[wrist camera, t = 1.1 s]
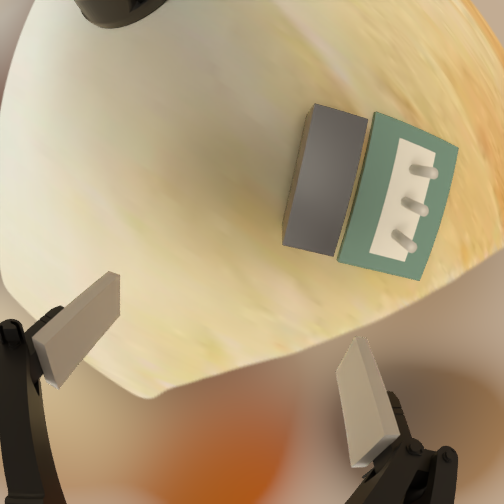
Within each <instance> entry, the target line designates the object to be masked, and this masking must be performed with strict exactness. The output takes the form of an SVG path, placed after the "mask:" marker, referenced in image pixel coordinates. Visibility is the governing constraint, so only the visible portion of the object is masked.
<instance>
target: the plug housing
mask: <svg viewBox="0 0 504 504" xmlns="http://www.w3.org/2000/svg"><path fill="white" fill-rule="evenodd" d="M367 123H368V119H366V118H363V117H360V116H357V115H353V114H350V113H347V112H344V111H340V110H337V109H333V108H330V107H326V106H322V105H319V104H314V105H313V107H312V108H311V110H310V111H309V112H308V114H307V116H306V121H305V125H304V130H303V135H302V139H301V144H300V148H299V153H298V157H297V162H296V166H295V171H294V175H293V180H292V184H291V188H290V193H289V197H288V201H287V206H286V210H285V214H284V218H283V223H282V245H285V246H289V247H293V248H298V249H302V250H307V251H311V252H315V253H320V254H324V255H328V256H334V253H335V249H336V246H337V243H338V239H339V236H340V233H341V229H342V226H343V222H344V219H345V215H346V211H347V208H348V204H349V200H350V197H351V193H352V189H353V185H354V181H355V177H356V173H357V169H358V164H359V160H360V156H361V151H362V147H363V142H364V137H365V133H366V128H367Z"/></svg>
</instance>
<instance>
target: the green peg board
mask: <svg viewBox="0 0 504 504" xmlns="http://www.w3.org/2000/svg"><path fill="white" fill-rule="evenodd" d="M458 149H459V148H458V147H456V146H454V145H452V144H450V143H448V142H446V141H444V140H442V139H440V138H438V137H436V136H434V135H432V134H429V133H427V132H425V131H423V130H421V129H418V128H416V127H414V126H411V125H409V124H407V123H404V122H402V121H399V120H397V119H394V118H392V117H389V116H386V115H384V114H381V113H378V112H374V115H373V120H372V125H371V130H370V135H369V140H368V145H367V149H366V154H365V158H364V162H363V167H362V171H361V175H360V179H359V183H358V187H357V191H356V195H355V199H354V202H353V206H352V210H351V213H350V217H349V220H348V224H347V227H346V231H345V234H344V238H343V241H342V244H341V248H340V251H339V254H338V257H337V261H338V262H340V263H345V264H349V265H354V266H358V267H362V268H366V269H371V270H375V271H379V272H384V273H388V274H392V275H396V276H401V277H405V278H409V279H413V280H417V281H420V279H421V276H422V274H423V271H424V269H425V266H426V263H427V261H428V258H429V255H430V253H431V250H432V247H433V244H434V241H435V238H436V235H437V232H438V229H439V226H440V223H441V219H442V216H443V213H444V209H445V206H446V202H447V198H448V194H449V190H450V186H451V182H452V178H453V174H454V169H455V164H456V159H457V154H458Z"/></svg>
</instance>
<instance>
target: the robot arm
mask: <svg viewBox="0 0 504 504" xmlns="http://www.w3.org/2000/svg"><path fill="white" fill-rule="evenodd" d="M74 1H75V2H76V4H77V5H78V7H79V8H80V9H81V12H82V14H83V16H84V17H85V18H86V19H87V20H88V21H90V22H91V23H93V24H95V25H97V26H99V27H102V28H117V27H122V26H125V25H128V24H131V23H133V22H136V21H138V20H140V19H142V18H143V17H145V16H147V15H148V14H150V13H151V12H153V11H154V10H156V9H157V8H158V7H159V6H161V5H162V4H163V3H164V2H165V1H166V0H74ZM119 316H120V275H119V274H116V273H113V272H110V271H108V272H107V273H106V274H105V275H103V276H102V277H101V278H100V279H98V280H97V281H96V282H95V283H93V284H92V285H91V286H90V287H89V288H87V289H86V290H85V291H84V292H83V293H81V294H80V295H79V296H78V297H77V298H75V299H74V300H73V301H72V302H71V303H70V304H68V305H67V306H66V307H65V308H64V307H62V306H58V307H55V308H53V309H51V310H50V311H49V312H47V313H46V314H45V316H43V317H42V318H40V320H38V321H37V322H36V323H35V324H34V325H33V326H31V327H30V328H29V329H28V330H27V331H26V332H25V333H24V331H23V327H22V324H21V323H20V322H19V321H17V320H15V319H8V320H5V321H3V322H1V323H0V442H1V451H2V459H3V466H4V472H5V477H6V482H7V487H8V496H7V497H6V498H5V504H67V503H66V501H65V498H64V495H63V492H62V489H61V486H60V483H59V479H58V476H57V472H56V468H55V465H54V461H53V457H52V452H51V448H50V443H49V438H48V433H47V427H46V421H45V415H44V408H43V400H42V391H41V382H40V379H39V378H40V377H41V376H42V375H43V374H44V377H45V380H46V382H47V383H49V384H50V385H52V386H53V387H55V388H57V389H60V387H61V386H62V385H63V383H64V382H65V381H66V380H67V378H68V377H69V376H70V375H71V373H72V372H73V371H74V369H75V368H76V367H77V365H79V363H80V362H81V361H82V360H83V358H84V357H85V356H86V355H87V354H88V352H89V351H90V350H91V349H92V348H93V346H94V345H95V344H96V343H97V342H98V340H99V339H100V338H101V337H102V336H103V335H104V333H105V332H106V331H107V330H108V329H109V328H110V326H111V325H112V324H113V323H114V322H115V321H116V319H117V318H118V317H119ZM336 376H337V382H338V386H339V392H340V398H341V404H342V409H343V415H344V421H345V428H346V434H347V441H348V448H349V455H350V462H351V467H366V466H367V465H369V464H370V463H371V462H372V461H373V463H374V468H372V469H371V470H370V471H369V472H367V473H366V474H365V475H364V476H363V477H362V478H364V480H363V481H362V483H361V484H360V485H359V486H358V488H357V489H356V490H355V492H354V493H353V494H352V495H351V497H350V498H349V499H348V500H347V502H346V503H345V504H454V499H455V491H456V480H457V468H458V455H457V453H456V451H455V450H454V449H453V448H451V447H449V446H443V447H441V448H440V449H439V450H438V451H431V450H427V449H424V447H423V445H422V444H421V443H420V442H419V441H418V440H416V439H414V438H412V437H411V434H410V431H409V428H408V425H407V422H406V419H405V416H404V415H403V414H404V413H403V410H402V409H401V405H400V402H399V399H398V398H397V397H396V395H395V394H394V393H393V392H390V391H386V389H385V386H384V383H383V380H382V378H381V375H380V372H379V369H378V366H377V364H376V361H375V358H374V355H373V353H372V350H371V348H370V345H369V343H368V340H367V338H363V337H358V336H355V337H354V339H353V340H352V342H351V344H350V346H349V348H348V350H347V352H346V354H345V356H344V357H343V359H342V361H341V363H340V365H339V367H338V368H337V370H336Z"/></svg>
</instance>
